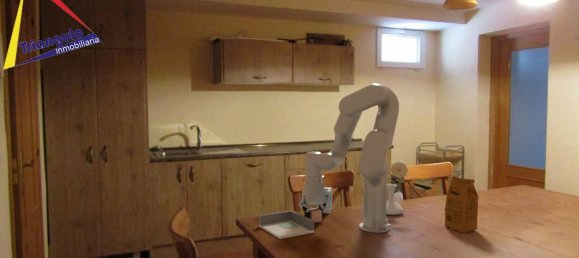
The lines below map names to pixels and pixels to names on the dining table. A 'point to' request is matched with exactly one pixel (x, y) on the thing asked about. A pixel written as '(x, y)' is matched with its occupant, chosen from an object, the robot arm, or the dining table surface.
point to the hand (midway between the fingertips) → (313, 218)
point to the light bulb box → (329, 196)
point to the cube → (315, 214)
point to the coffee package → (461, 205)
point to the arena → (286, 224)
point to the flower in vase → (399, 172)
